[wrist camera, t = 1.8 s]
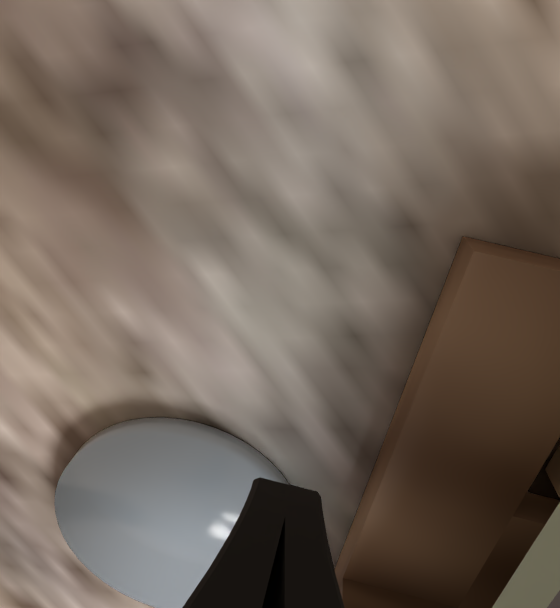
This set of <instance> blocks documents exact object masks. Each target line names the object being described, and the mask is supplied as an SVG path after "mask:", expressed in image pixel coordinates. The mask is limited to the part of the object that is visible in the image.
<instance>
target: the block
mask: <svg viewBox="0 0 560 608" xmlns="http://www.w3.org/2000/svg"><path fill="white" fill-rule="evenodd" d="M545 470H546V472H547V474H548V476H549V478H550V480H551V482H552V484H553V486H554V488H555V490H556V492H557V494H558V496H559V498H560V445H559V447H558V449H557V450H556V452H555V454H554V455H553V457H552V459H551V460H550V462H549V464H548V465H547V467H546V469H545Z"/></svg>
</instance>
